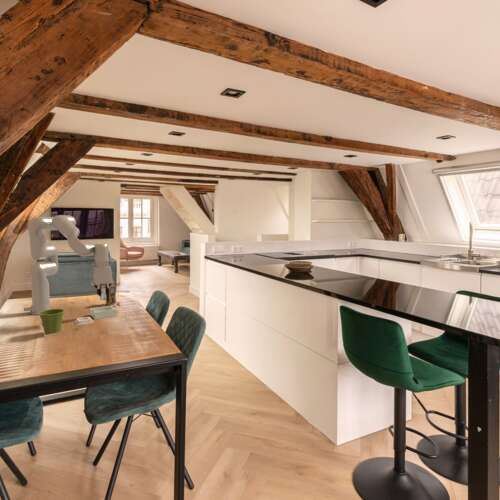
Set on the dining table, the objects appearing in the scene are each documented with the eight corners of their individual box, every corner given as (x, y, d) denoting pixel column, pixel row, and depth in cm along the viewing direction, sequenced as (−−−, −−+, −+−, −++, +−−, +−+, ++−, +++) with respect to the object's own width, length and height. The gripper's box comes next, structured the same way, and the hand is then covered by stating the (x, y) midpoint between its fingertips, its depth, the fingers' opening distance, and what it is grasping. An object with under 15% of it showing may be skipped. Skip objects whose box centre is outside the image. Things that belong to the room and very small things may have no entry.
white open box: (95, 321, 208) (94, 312, 208) (90, 316, 218) (90, 308, 217) (116, 317, 215) (116, 309, 215) (111, 313, 225) (110, 305, 224)
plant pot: (41, 330, 189) (40, 309, 188) (66, 328, 193) (66, 307, 193) (37, 337, 178) (36, 315, 177) (64, 335, 182) (63, 313, 181)
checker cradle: (77, 326, 197) (77, 322, 197) (74, 322, 204) (74, 318, 204) (94, 323, 202) (94, 319, 202) (91, 320, 210) (91, 316, 210)
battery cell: (100, 300, 213) (100, 283, 212) (99, 299, 216) (98, 282, 215) (107, 299, 215) (106, 282, 214) (105, 298, 218) (105, 282, 217)
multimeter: (116, 307, 240) (115, 277, 238) (103, 306, 242) (102, 277, 240) (128, 302, 254) (127, 274, 252) (115, 302, 256) (114, 274, 254)
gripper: (88, 266, 206) (89, 298, 207) (118, 264, 216) (119, 294, 217) (85, 265, 212) (86, 295, 214) (114, 263, 222) (115, 292, 223)
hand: (103, 294), depth 215 cm, fingers closed on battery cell, 3 cm apart
